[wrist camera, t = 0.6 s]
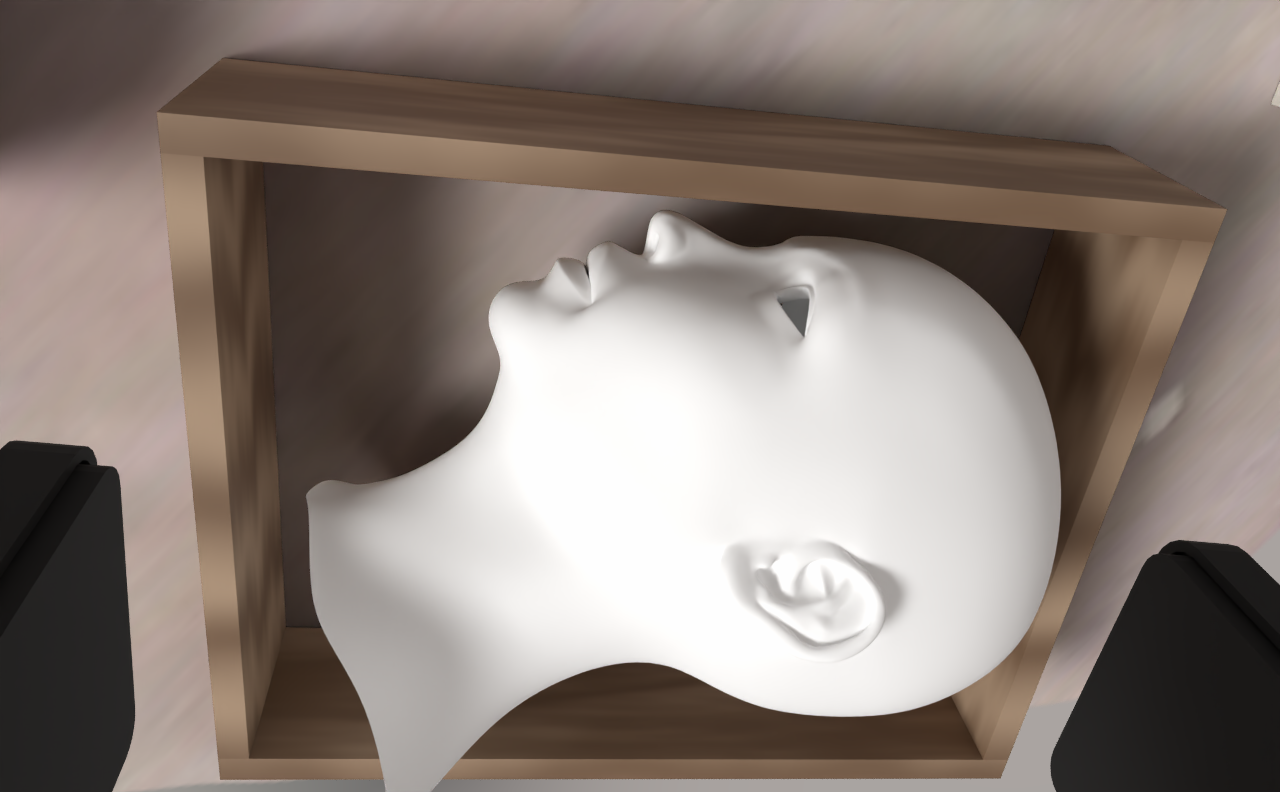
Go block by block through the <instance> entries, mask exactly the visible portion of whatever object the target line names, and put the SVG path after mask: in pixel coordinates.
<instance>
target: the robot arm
mask: <svg viewBox="0 0 1280 792" xmlns="http://www.w3.org/2000/svg"><path fill="white" fill-rule="evenodd" d="M134 722H135V699H134V684H133V669H132V653H131V638H130V623H129V608H128V593H127V578H126V563H125V548H124V533H123V518H122V503H121V487H120V479H119V474H118V472H117V469H115V468H114V467H111V466H99V465H97V460H96V457H95V455H94V452H93V450H91V449H90V448H89V447H86V446H75V445H63V444H51V443H40V442H28V441H10V442H8V443H7V444H6V445H5V446H4V447H2V448H1V450H0V792H112V791H113V788H114V786H115V784H116V781H117V779H118V776H119V774H120V772H121V769H122V767H123V764H124V762H125V760H126V757H127V754H128V751H129V748H130V744H131V740H132V736H133V730H134ZM1051 777H1052V781H1053V785H1054V787H1055V790H1056V792H1280V585H1279V584H1278V583H1277V582H1276V581H1275V580H1274V579H1273V578H1272V577H1271V576H1270V575H1269V574H1268V573H1267V572H1266V571H1265V570H1264V569H1263V568H1262V567H1261V566H1260V565H1259V564H1258V563H1256V561H1255V560H1254V559H1253V558H1252V557H1251V556H1250V555H1249V554H1248V553H1246V552H1245V551H1243V550H1242V549H1241V548H1239V547H1238V546H1233V545H1229V544H1219V543H1208V542H1196V541H1184V540H1178V541H1173V542H1170V543H1168V544H1167V545H1166V546H1164V547H1163V548H1162V549H1161V551H1160V552H1159V553H1158V554H1155V555H1153V556H1151V557H1150V558H1149V559H1147V561H1146V562H1145V564H1144V565H1143V567H1142V569H1141V571H1140V573H1139V575H1138V577H1137V579H1136V581H1135V583H1134V585H1133V587H1132V589H1131V591H1130V594H1129V596H1128V598H1127V600H1126V602H1125V604H1124V606H1123V608H1122V610H1121V612H1120V614H1119V616H1118V618H1117V620H1116V622H1115V624H1114V626H1113V629H1112V631H1111V633H1110V635H1109V637H1108V639H1107V641H1106V643H1105V645H1104V647H1103V649H1102V651H1101V653H1100V655H1099V657H1098V659H1097V661H1096V664H1095V666H1094V668H1093V670H1092V672H1091V674H1090V676H1089V678H1088V680H1087V682H1086V684H1085V686H1084V688H1083V690H1082V692H1081V694H1080V697H1079V699H1078V701H1077V703H1076V705H1075V707H1074V709H1073V711H1072V713H1071V715H1070V717H1069V719H1068V721H1067V723H1066V725H1065V727H1064V730H1063V732H1062V734H1061V736H1060V738H1059V740H1058V742H1057V744H1056V746H1055V748H1054V751H1053V754H1052V757H1051Z"/></svg>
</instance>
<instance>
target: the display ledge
mask: <svg viewBox="0 0 1280 792" xmlns="http://www.w3.org/2000/svg"><path fill="white" fill-rule="evenodd" d="M1271 104H1272V105H1275V106H1278V107H1280V83H1279V85H1278V88H1277V90H1276V93H1275V95H1274V98H1273V100H1272V103H1271Z"/></svg>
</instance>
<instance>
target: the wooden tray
mask: <svg viewBox="0 0 1280 792" xmlns="http://www.w3.org/2000/svg"><path fill="white" fill-rule="evenodd" d="M157 122H158V132H159V143H160V153H161V164H162V174H163V185H164V195H165V206H166V216H167V227H168V237H169V248H170V258H171V269H172V279H173V290H174V300H175V311H176V321H177V332H178V342H179V353H180V363H181V374H182V384H183V395H184V405H185V416H186V426H187V437H188V447H189V457H190V468H191V478H192V489H193V499H194V510H195V520H196V531H197V541H198V552H199V562H200V573H201V583H202V594H203V604H204V615H205V625H206V636H207V646H208V657H209V667H210V678H211V688H212V699H213V709H214V720H215V730H216V741H217V751H218V762H219V772H220V780H277V779H384V778H383V772H382V768H381V763H380V759H379V754H378V750H377V746H376V743H375V739H374V735H373V732H372V729H371V726H370V722H369V720H368V717H367V714H366V712H365V709H364V706H363V704H362V702H361V699H360V697H359V695H358V693H357V691H356V689H355V687H354V685H353V683H352V681H351V679H350V677H349V676H348V674H347V672H346V670H345V668H344V667H343V665H342V663H341V661H340V660H339V658H338V656H337V655H336V653H335V651H334V649H333V648H332V646H331V644H330V642H329V641H328V639H327V637H326V635H325V633H324V631H323V629H322V628H300V627H286V621H285V600H284V580H283V560H282V539H281V519H280V498H279V478H278V458H277V437H276V417H275V396H274V376H273V356H272V335H271V315H270V294H269V274H268V254H267V233H266V213H265V193H264V172H263V162H271V163H283V164H295V165H306V166H318V167H330V168H342V169H353V170H365V171H377V172H389V173H400V174H412V175H424V176H436V177H447V178H459V179H471V180H483V181H494V182H506V183H518V184H530V185H541V186H553V187H565V188H577V189H588V190H600V191H612V192H624V193H635V194H647V195H659V196H671V197H682V198H694V199H706V200H718V201H729V202H741V203H753V204H765V205H776V206H788V207H800V208H812V209H823V210H835V211H847V212H859V213H870V214H882V215H894V216H906V217H917V218H929V219H941V220H953V221H964V222H976V223H988V224H1000V225H1011V226H1023V227H1035V228H1047V229H1055V230H1054V233H1053V236H1052V239H1051V242H1050V245H1049V248H1048V251H1047V255H1046V258H1045V261H1044V264H1043V267H1042V270H1041V273H1040V276H1039V279H1038V283H1037V286H1036V289H1035V292H1034V295H1033V298H1032V301H1031V304H1030V307H1029V311H1028V314H1027V317H1026V320H1025V323H1024V326H1023V329H1022V332H1021V335H1020V339H1019V341H1020V343H1021V344H1022V346H1023V348H1024V349H1025V351H1026V353H1027V354H1028V356H1029V358H1030V360H1031V362H1032V364H1033V366H1034V368H1035V371H1036V373H1037V375H1038V378H1039V380H1040V383H1041V386H1042V388H1043V391H1044V394H1045V397H1046V400H1047V404H1048V407H1049V411H1050V415H1051V419H1052V423H1053V427H1054V432H1055V437H1056V443H1057V449H1058V457H1059V466H1060V480H1061V510H1060V524H1059V533H1058V540H1057V546H1056V552H1055V557H1054V562H1053V566H1052V571H1051V574H1050V578H1049V581H1048V585H1047V588H1046V591H1045V594H1044V596H1043V599H1042V601H1041V604H1040V606H1039V609H1038V611H1037V613H1036V615H1035V617H1034V620H1033V622H1032V623H1031V625H1030V627H1029V629H1028V630H1027V632H1026V634H1025V635H1024V637H1023V638H1022V639H1021V641H1020V642H1019V644H1018V645H1017V646H1016V647H1015V648H1014V650H1013V651H1012V652H1011V653H1010V654H1009V655H1008V656H1007V657H1006V658H1005V659H1004V660H1003V661H1002V662H1001V663H1000V664H999V665H998V666H997V667H995V668H994V669H993V670H992V671H991V672H989V673H988V674H987V675H985V676H984V677H982V678H981V679H979V680H978V681H976V682H975V683H973V684H971V685H970V686H968V687H966V688H965V689H963V690H961V691H959V692H957V693H955V694H953V695H951V696H949V697H947V698H944V699H942V700H939V701H937V702H934V703H932V704H929V705H926V706H923V707H919V708H916V709H912V710H908V711H903V712H898V713H892V714H885V715H875V716H853V717H837V716H815V715H804V714H796V713H789V712H782V711H777V710H773V709H768V708H764V707H761V706H757V705H754V704H751V703H748V702H746V701H743V700H741V699H738V698H736V697H734V696H731V695H729V694H727V693H725V692H723V691H721V690H719V689H717V688H715V687H713V686H711V685H709V684H707V683H705V682H703V681H702V680H700V679H698V678H696V677H694V676H692V675H689V674H687V673H685V672H683V671H681V670H678V669H675V668H672V667H669V666H665V665H661V664H655V663H644V662H631V663H620V664H613V665H608V666H603V667H599V668H595V669H592V670H589V671H586V672H582V673H580V674H577V675H574V676H572V677H569V678H567V679H564V680H562V681H560V682H558V683H556V684H554V685H551V686H549V687H547V688H546V689H544V690H542V691H540V692H538V693H537V694H535V695H533V696H531V697H530V698H528V699H527V700H525V701H524V702H522V703H521V704H519V705H518V706H516V707H515V708H513V709H512V710H511V711H509V712H508V713H507V714H506V715H504V716H503V717H502V718H501V719H499V720H498V721H497V722H496V723H495V724H494V725H493V726H492V727H490V728H489V729H488V730H487V731H486V732H485V733H484V734H483V735H482V736H481V737H480V738H479V739H478V740H477V741H476V742H475V743H474V744H473V745H472V746H471V747H470V748H469V749H468V751H467V752H466V753H465V754H464V755H463V756H462V757H461V758H460V759H459V760H458V761H457V763H456V764H455V765H454V766H453V767H452V768H451V769H450V770H449V772H448V773H447V774H446V775H445V776H444V777H443V778H442V779H875V778H876V779H883V778H884V779H894V778H895V779H899V778H900V779H902V778H903V779H911V778H913V779H914V778H915V779H916V778H917V779H918V778H921V779H922V778H923V779H924V778H925V779H926V778H927V779H930V778H931V779H932V778H934V779H935V778H937V779H938V778H1001V776H1002V773H1003V771H1004V768H1005V765H1006V763H1007V760H1008V758H1009V755H1010V753H1011V750H1012V748H1013V745H1014V743H1015V740H1016V738H1017V735H1018V733H1019V730H1020V728H1021V725H1022V723H1023V720H1024V718H1025V715H1026V713H1027V710H1028V708H1029V705H1030V703H1031V700H1032V698H1033V695H1034V693H1035V690H1036V688H1037V685H1038V683H1039V680H1040V678H1041V675H1042V673H1043V670H1044V668H1045V665H1046V663H1047V660H1048V658H1049V655H1050V653H1051V650H1052V648H1053V645H1054V643H1055V640H1056V638H1057V635H1058V633H1059V630H1060V628H1061V625H1062V623H1063V620H1064V618H1065V615H1066V613H1067V610H1068V608H1069V605H1070V603H1071V600H1072V598H1073V595H1074V593H1075V590H1076V588H1077V585H1078V583H1079V580H1080V578H1081V575H1082V573H1083V570H1084V568H1085V565H1086V563H1087V560H1088V557H1089V555H1090V552H1091V550H1092V547H1093V545H1094V542H1095V540H1096V537H1097V535H1098V532H1099V530H1100V527H1101V525H1102V522H1103V520H1104V517H1105V515H1106V512H1107V510H1108V507H1109V505H1110V502H1111V500H1112V497H1113V495H1114V492H1115V490H1116V487H1117V485H1118V482H1119V480H1120V477H1121V475H1122V472H1123V470H1124V467H1125V465H1126V462H1127V460H1128V457H1129V455H1130V452H1131V450H1132V447H1133V445H1134V442H1135V440H1136V437H1137V435H1138V432H1139V430H1140V427H1141V425H1142V422H1143V420H1144V417H1145V415H1146V412H1147V410H1148V407H1149V405H1150V402H1151V400H1152V397H1153V395H1154V392H1155V390H1156V387H1157V385H1158V382H1159V380H1160V377H1161V375H1162V372H1163V370H1164V367H1165V364H1166V362H1167V359H1168V357H1169V354H1170V352H1171V349H1172V347H1173V344H1174V342H1175V339H1176V337H1177V334H1178V332H1179V329H1180V327H1181V324H1182V322H1183V319H1184V317H1185V314H1186V312H1187V309H1188V307H1189V304H1190V302H1191V299H1192V297H1193V294H1194V292H1195V289H1196V287H1197V284H1198V282H1199V279H1200V277H1201V274H1202V272H1203V269H1204V267H1205V264H1206V262H1207V259H1208V257H1209V254H1210V252H1211V249H1212V247H1213V244H1214V242H1215V239H1216V237H1217V234H1218V232H1219V229H1220V227H1221V224H1222V222H1223V219H1224V217H1225V214H1226V212H1227V209H1226V208H1224V207H1222V206H1220V205H1218V204H1216V203H1215V202H1213V201H1211V200H1209V199H1207V198H1205V197H1203V196H1202V195H1200V194H1198V193H1196V192H1194V191H1192V190H1190V189H1189V188H1187V187H1185V186H1183V185H1181V184H1179V183H1177V182H1176V181H1174V180H1172V179H1170V178H1168V177H1166V176H1164V175H1163V174H1161V173H1159V172H1157V171H1155V170H1153V169H1151V168H1150V167H1148V166H1146V165H1144V164H1142V163H1140V162H1138V161H1137V160H1135V159H1133V158H1131V157H1129V156H1127V155H1125V154H1124V153H1122V152H1120V151H1118V150H1116V149H1114V148H1113V147H1111V146H1105V145H1095V144H1085V143H1075V142H1065V141H1055V140H1045V139H1035V138H1025V137H1015V136H1005V135H994V134H984V133H974V132H964V131H954V130H944V129H934V128H924V127H914V126H904V125H894V124H884V123H873V122H863V121H853V120H843V119H833V118H823V117H813V116H803V115H793V114H783V113H773V112H762V111H752V110H742V109H732V108H722V107H712V106H702V105H692V104H682V103H672V102H662V101H651V100H641V99H631V98H621V97H611V96H601V95H591V94H581V93H571V92H561V91H551V90H541V89H530V88H520V87H510V86H500V85H490V84H480V83H470V82H460V81H450V80H440V79H430V78H419V77H409V76H399V75H389V74H379V73H369V72H359V71H349V70H339V69H329V68H319V67H308V66H298V65H288V64H278V63H268V62H258V61H248V60H238V59H228V58H222V59H221V60H220V61H219V62H217V63H216V64H215V65H214V66H213V67H211V68H210V69H209V70H208V71H206V72H205V73H204V74H203V75H202V76H200V77H199V78H198V79H197V80H195V81H194V82H193V83H192V84H191V85H189V86H188V87H187V88H186V89H184V90H183V91H182V92H181V93H180V94H178V95H177V96H176V97H175V98H173V99H172V100H171V101H170V102H168V103H167V104H166V105H165V106H164V107H162V108H161V109H160V110H159V111H157Z"/></svg>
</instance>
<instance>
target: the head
mask: <svg viewBox="0 0 1280 792" xmlns="http://www.w3.org/2000/svg"><path fill="white" fill-rule="evenodd" d="M586 266H587V267H586ZM586 266H585V265H584V264H583V263H582V262H581V261H579V260H576V259H572V258H559V259H557V261H556V262H555V264H554V266H553V268H552V270H551V271H550V273H549V274H548V275H547V276H546V277H545V278H543V279H540V280H535V281H522V282H516V283H512V284H509V285H507V286H505V287H504V288H502V289H501V290H500V291H499V292H498V293H497V295H496V296H495V298H494V299H493V301H492V304H491V306H490V310H489V327H490V331H491V334H492V337H493V339H494V342H495V345H496V347H497V350H498V353H499V357H500V372H499V377H498V380H497V384H496V387H495V390H494V393H493V396H492V399H491V401H490V404H489V406H488V408H487V410H486V412H485V414H484V416H483V417H482V419H481V420H480V422H479V423H478V425H477V426H476V427H475V428H474V429H473V431H472V432H471V433H470V434H469V435H468V436H467V437H466V438H465V439H464V440H462V441H461V442H460V443H459V444H457V445H456V446H455V447H453V448H452V449H450V450H449V451H447V452H446V453H444V454H443V455H441V456H439V457H438V458H436V459H434V460H432V461H431V462H429V463H427V464H425V465H423V466H421V467H419V468H417V469H415V470H413V471H411V472H408V473H406V474H404V475H401V476H398V477H395V478H391V479H387V480H383V481H379V482H374V483H367V484H351V483H347V482H343V481H338V480H327V481H323V482H321V483H319V484H317V485H315V486H314V487H313V488H312V489H310V491H309V492H308V493H307V494H306V500H307V504H308V512H309V547H310V577H311V588H312V596H313V602H314V606H315V610H316V614H317V616H318V619H319V622H320V624H321V627H322V629H323V631H324V633H325V635H326V637H327V639H328V641H329V642H330V644H331V646H332V648H333V649H334V651H335V653H336V655H337V656H338V658H339V660H340V661H341V663H342V665H343V667H344V668H345V670H346V672H347V674H348V676H349V677H350V679H351V681H352V683H353V685H354V687H355V689H356V691H357V693H358V695H359V697H360V699H361V702H362V704H363V706H364V709H365V712H366V714H367V717H368V720H369V722H370V726H371V729H372V732H373V735H374V739H375V743H376V746H377V750H378V754H379V759H380V763H381V768H382V772H383V778H384V783H385V788H386V792H431V791H432V789H433V788H434V787H435V786H436V785H437V784H438V783H439V782H440V780H441V779H442V778H443V777H444V776H445V775H446V774H447V773H448V772H449V770H450V769H451V768H452V767H453V766H454V765H455V764H456V763H457V761H458V760H459V759H460V758H461V757H462V756H463V755H464V754H465V753H466V752H467V751H468V749H469V748H470V747H471V746H472V745H473V744H474V743H475V742H476V741H477V740H478V739H479V738H480V737H481V736H482V735H483V734H484V733H485V732H486V731H487V730H488V729H489V728H490V727H492V726H493V725H494V724H495V723H496V722H497V721H498V720H499V719H501V718H502V717H503V716H504V715H506V714H507V713H508V712H509V711H511V710H512V709H513V708H515V707H516V706H518V705H519V704H521V703H522V702H524V701H525V700H527V699H528V698H530V697H531V696H533V695H535V694H537V693H538V692H540V691H542V690H544V689H546V688H547V687H549V686H551V685H554V684H556V683H558V682H560V681H562V680H564V679H567V678H569V677H572V676H574V675H577V674H580V673H582V672H586V671H589V670H592V669H595V668H599V667H603V666H608V665H613V664H620V663H631V662H644V663H655V664H661V665H665V666H669V667H672V668H675V669H678V670H681V671H683V672H685V673H687V674H689V675H692V676H694V677H696V678H698V679H700V680H702V681H703V682H705V683H707V684H709V685H711V686H713V687H715V688H717V689H719V690H721V691H723V692H725V693H727V694H729V695H731V696H734V697H736V698H738V699H741V700H743V701H746V702H748V703H751V704H754V705H757V706H761V707H764V708H768V709H773V710H777V711H782V712H789V713H796V714H804V715H815V716H837V717H853V716H875V715H885V714H892V713H898V712H903V711H908V710H912V709H916V708H919V707H923V706H926V705H929V704H932V703H934V702H937V701H939V700H942V699H944V698H947V697H949V696H951V695H953V694H955V693H957V692H959V691H961V690H963V689H965V688H966V687H968V686H970V685H971V684H973V683H975V682H976V681H978V680H979V679H981V678H982V677H984V676H985V675H987V674H988V673H989V672H991V671H992V670H993V669H994V668H995V667H997V666H998V665H999V664H1000V663H1001V662H1002V661H1003V660H1004V659H1005V658H1006V657H1007V656H1008V655H1009V654H1010V653H1011V652H1012V651H1013V650H1014V648H1015V647H1016V646H1017V645H1018V644H1019V642H1020V641H1021V639H1022V638H1023V637H1024V635H1025V634H1026V632H1027V630H1028V629H1029V627H1030V625H1031V623H1032V622H1033V620H1034V617H1035V615H1036V613H1037V611H1038V609H1039V606H1040V604H1041V601H1042V599H1043V596H1044V594H1045V591H1046V588H1047V585H1048V581H1049V578H1050V574H1051V571H1052V566H1053V562H1054V557H1055V552H1056V546H1057V540H1058V533H1059V524H1060V510H1061V480H1060V466H1059V457H1058V449H1057V443H1056V437H1055V432H1054V427H1053V423H1052V419H1051V415H1050V411H1049V407H1048V404H1047V400H1046V397H1045V394H1044V391H1043V388H1042V386H1041V383H1040V380H1039V378H1038V375H1037V373H1036V371H1035V368H1034V366H1033V364H1032V362H1031V360H1030V358H1029V356H1028V354H1027V353H1026V351H1025V349H1024V348H1023V346H1022V344H1021V343H1020V341H1019V340H1018V338H1017V337H1016V335H1015V334H1014V333H1013V331H1012V330H1011V329H1010V327H1009V326H1008V325H1007V323H1006V322H1005V321H1004V320H1003V319H1002V318H1001V316H1000V315H999V314H998V313H997V312H996V311H995V310H994V309H993V308H992V307H991V306H990V305H989V304H988V303H987V302H986V301H985V300H984V299H983V298H982V297H981V296H980V295H979V294H978V293H977V292H975V291H974V290H973V289H972V288H970V287H969V286H968V285H967V284H965V283H964V282H963V281H961V280H960V279H958V278H957V277H955V276H954V275H953V274H951V273H949V272H948V271H946V270H944V269H943V268H941V267H939V266H937V265H936V264H934V263H932V262H930V261H928V260H925V259H923V258H921V257H919V256H916V255H914V254H911V253H909V252H906V251H904V250H900V249H897V248H894V247H891V246H887V245H883V244H879V243H874V242H869V241H863V240H856V239H849V238H840V237H826V236H797V237H792V238H790V239H787V240H786V241H784V242H783V243H780V244H777V245H773V246H767V247H747V246H742V245H738V244H735V243H732V242H730V241H728V240H725V239H723V238H721V237H720V236H718V235H716V234H714V233H713V232H711V231H709V230H708V229H706V228H704V227H702V226H701V225H699V224H697V223H696V222H694V221H692V220H690V219H689V218H687V217H685V216H684V215H682V214H679V213H677V212H674V211H670V210H662V211H659V212H657V213H656V214H655V215H654V216H653V217H652V219H651V221H650V224H649V228H648V233H647V238H646V244H645V249H644V252H643V254H642V255H637V254H633V253H631V252H629V251H628V250H626V249H624V248H622V247H620V246H619V245H617V244H615V243H613V242H610V241H607V242H604V243H601V244H599V245H597V246H596V247H594V248H593V249H592V250H591V251H590V253H589V254H588V256H587V260H586ZM587 268H588V269H587ZM588 270H589V271H588ZM780 303H783V305H782V307H781V305H780Z"/></svg>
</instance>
